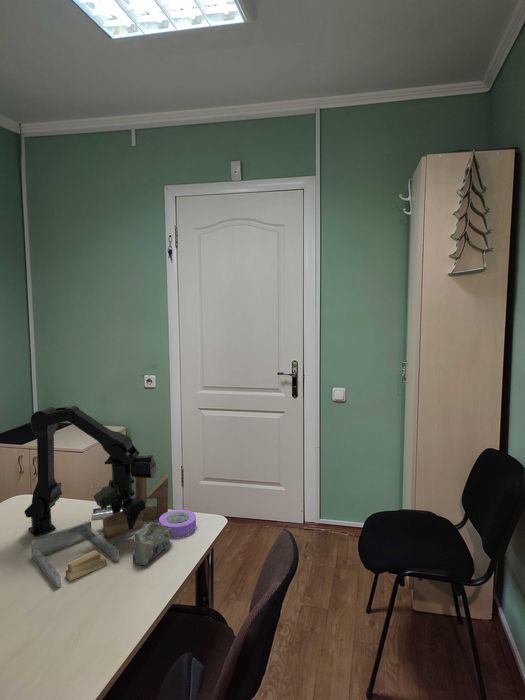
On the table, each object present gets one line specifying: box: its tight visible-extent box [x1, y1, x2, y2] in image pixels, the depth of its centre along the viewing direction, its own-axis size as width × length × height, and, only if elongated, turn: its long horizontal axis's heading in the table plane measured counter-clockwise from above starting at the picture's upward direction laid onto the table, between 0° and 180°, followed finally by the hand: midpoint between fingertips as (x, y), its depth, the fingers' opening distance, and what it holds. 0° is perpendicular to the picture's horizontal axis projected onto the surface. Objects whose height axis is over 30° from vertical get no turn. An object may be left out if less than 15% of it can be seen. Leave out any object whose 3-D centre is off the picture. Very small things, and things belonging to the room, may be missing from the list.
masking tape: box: [158, 509, 197, 539], centre depth 144 cm, size 12×12×4 cm
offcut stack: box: [64, 549, 107, 582], centre depth 122 cm, size 3×10×4 cm, turn 134°
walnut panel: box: [102, 511, 144, 540], centre depth 142 cm, size 3×12×6 cm, turn 134°
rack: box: [30, 520, 120, 588], centre depth 127 cm, size 19×17×5 cm
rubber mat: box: [98, 522, 148, 545], centre depth 142 cm, size 8×14×1 cm, turn 135°
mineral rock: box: [132, 521, 172, 566], centre depth 129 cm, size 13×11×10 cm
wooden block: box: [134, 473, 169, 521], centre depth 150 cm, size 4×11×18 cm, turn 105°
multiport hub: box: [91, 506, 123, 521], centre depth 154 cm, size 4×14×2 cm, turn 108°
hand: (123, 524), depth 142 cm, fingers open, 9 cm apart
